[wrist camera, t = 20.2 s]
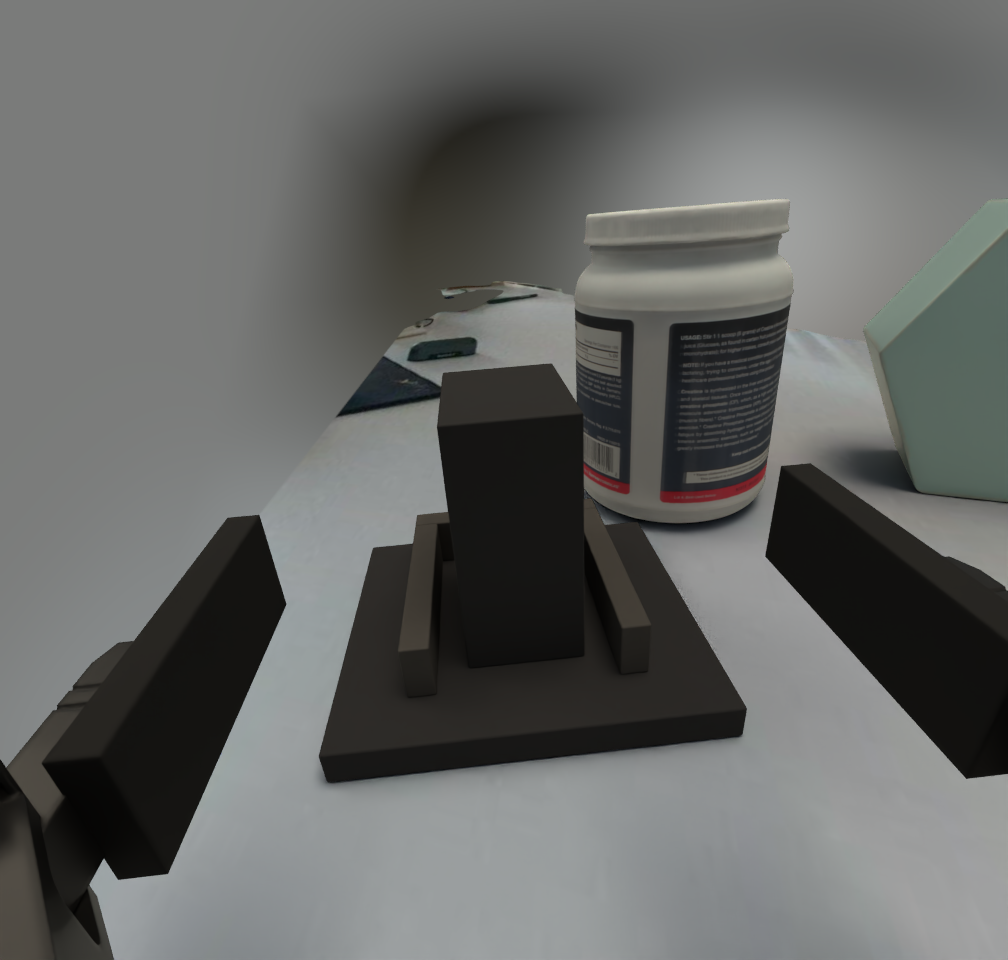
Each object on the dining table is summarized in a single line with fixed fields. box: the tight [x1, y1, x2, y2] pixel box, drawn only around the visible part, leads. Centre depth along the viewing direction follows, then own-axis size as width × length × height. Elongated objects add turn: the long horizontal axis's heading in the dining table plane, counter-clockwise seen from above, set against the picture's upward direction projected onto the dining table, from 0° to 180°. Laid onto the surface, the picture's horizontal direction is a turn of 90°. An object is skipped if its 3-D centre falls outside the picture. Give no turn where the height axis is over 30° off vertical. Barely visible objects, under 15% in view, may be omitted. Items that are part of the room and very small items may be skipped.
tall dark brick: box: [437, 364, 585, 668], centre depth 24 cm, size 5×7×11 cm
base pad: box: [319, 498, 747, 782], centre depth 26 cm, size 16×14×4 cm
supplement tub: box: [574, 199, 794, 523], centre depth 36 cm, size 13×13×18 cm
